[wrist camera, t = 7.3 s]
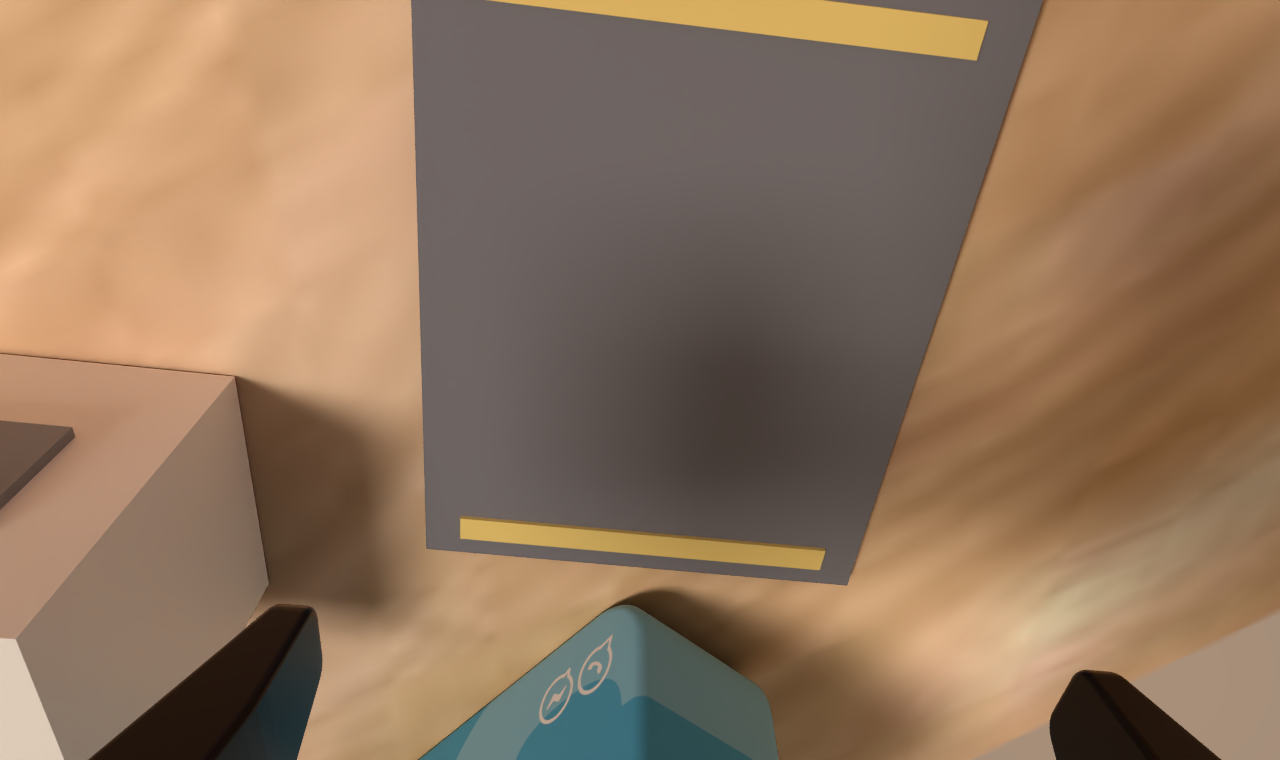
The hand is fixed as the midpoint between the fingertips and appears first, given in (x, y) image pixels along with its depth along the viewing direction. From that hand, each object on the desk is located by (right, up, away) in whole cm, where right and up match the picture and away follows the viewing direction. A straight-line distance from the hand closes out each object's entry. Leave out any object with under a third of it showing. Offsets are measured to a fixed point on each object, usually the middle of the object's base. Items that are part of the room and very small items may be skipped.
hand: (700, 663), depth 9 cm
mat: (0, +4, +7) cm, 9 cm away
